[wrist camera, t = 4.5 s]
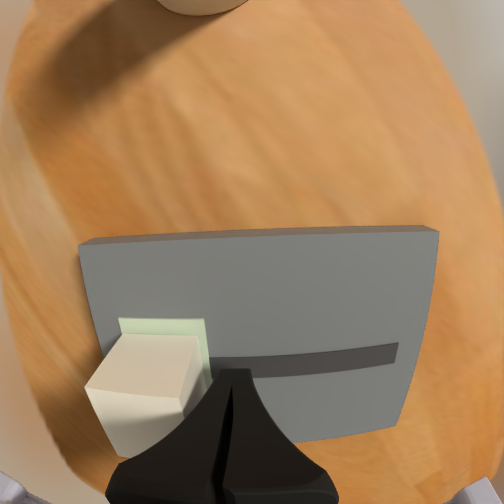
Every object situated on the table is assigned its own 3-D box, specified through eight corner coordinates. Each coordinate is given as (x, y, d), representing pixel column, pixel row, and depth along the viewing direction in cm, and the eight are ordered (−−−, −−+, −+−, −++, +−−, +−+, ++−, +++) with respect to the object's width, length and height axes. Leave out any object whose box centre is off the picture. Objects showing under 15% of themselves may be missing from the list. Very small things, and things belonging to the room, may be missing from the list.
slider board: (388, 410, 16) (396, 426, 14) (141, 421, 16) (134, 438, 14) (422, 225, 13) (440, 231, 11) (93, 238, 13) (76, 246, 11)
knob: (208, 403, 13) (198, 466, 9) (142, 399, 13) (118, 455, 9) (198, 335, 12) (178, 398, 8) (122, 333, 12) (84, 387, 8)
